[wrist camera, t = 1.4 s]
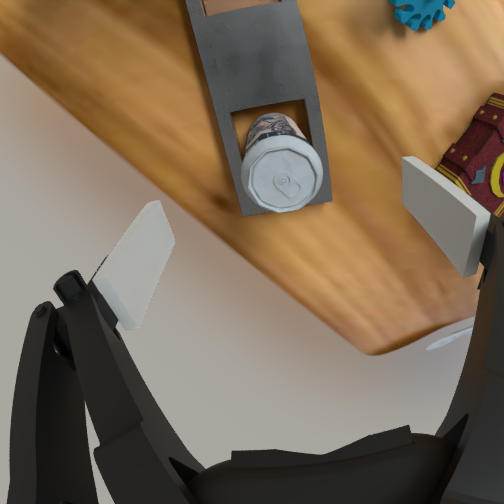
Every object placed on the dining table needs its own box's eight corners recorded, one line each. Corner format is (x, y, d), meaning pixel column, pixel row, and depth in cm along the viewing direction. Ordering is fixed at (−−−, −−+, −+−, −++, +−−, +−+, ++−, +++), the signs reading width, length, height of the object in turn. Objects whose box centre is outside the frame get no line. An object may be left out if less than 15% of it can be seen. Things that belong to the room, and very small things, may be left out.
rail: (173, -54, 13) (169, -59, 12) (268, -74, 12) (268, -80, 10) (243, 209, 30) (243, 216, 28) (329, 195, 28) (332, 201, 27)
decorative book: (425, 174, 26) (448, 192, 22) (494, 83, 19) (522, 91, 14) (466, 227, 30) (486, 248, 26) (527, 147, 22) (550, 161, 18)
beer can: (272, 101, 23) (281, 120, 13) (309, 135, 25) (343, 180, 15) (237, 138, 25) (221, 184, 16) (275, 169, 27) (284, 234, 17)
